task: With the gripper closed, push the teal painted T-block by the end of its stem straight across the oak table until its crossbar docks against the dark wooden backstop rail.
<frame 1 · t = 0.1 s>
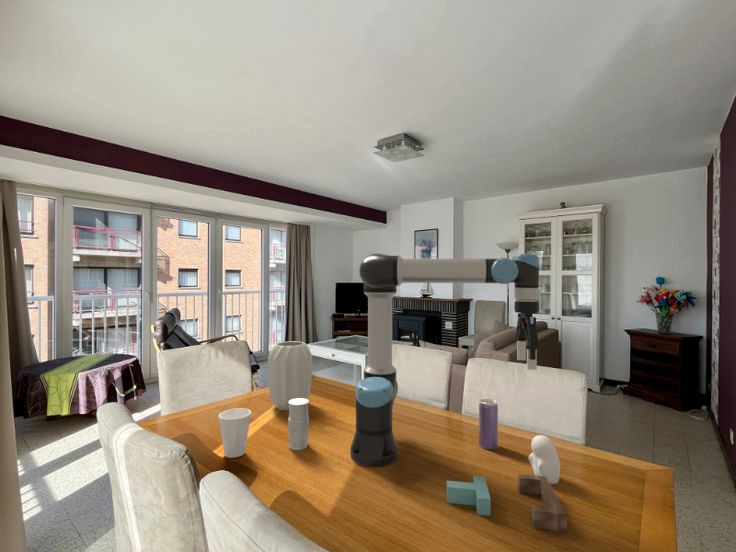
hand: (526, 364, 124), 28 cm above the table, fingers open, 13 cm apart
t block: (467, 501, 95), on the table
vase: (290, 406, 164), on the table
beverage can: (488, 446, 126), on the table
figurine: (545, 478, 106), on the table
cup: (235, 454, 120), on the table
backstop: (550, 509, 92), on the table
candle: (298, 446, 126), on the table
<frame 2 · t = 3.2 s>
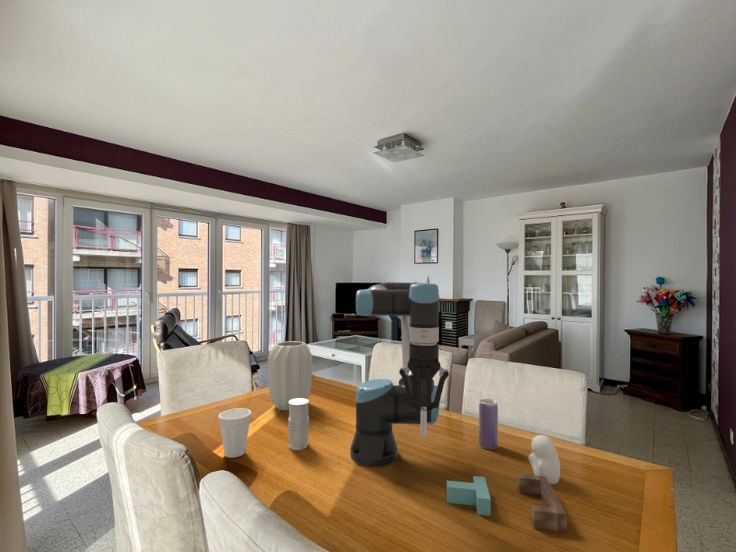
hand: (423, 433, 97), 16 cm above the table, fingers closed
nothing on the table moved.
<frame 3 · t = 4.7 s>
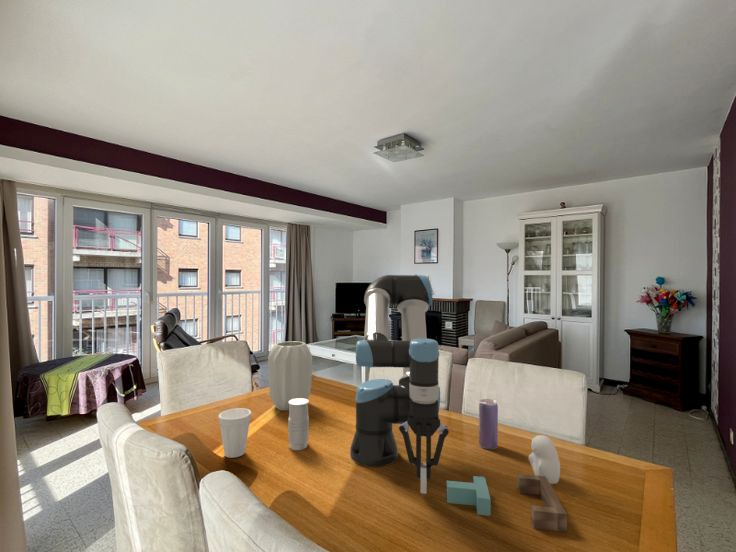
hand: (423, 490, 97), 2 cm above the table, fingers closed
nothing on the table moved.
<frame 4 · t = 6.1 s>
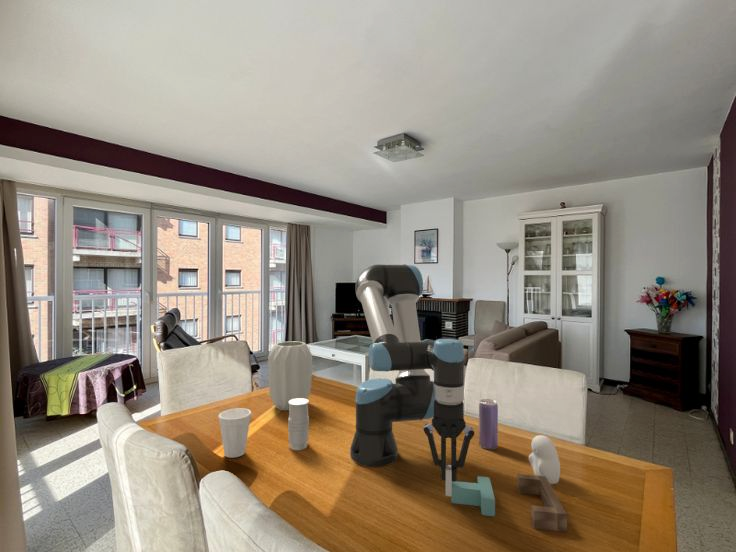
hand: (448, 493, 95), 2 cm above the table, fingers closed
t block: (471, 501, 95), on the table, touching gripper
everything else where it was.
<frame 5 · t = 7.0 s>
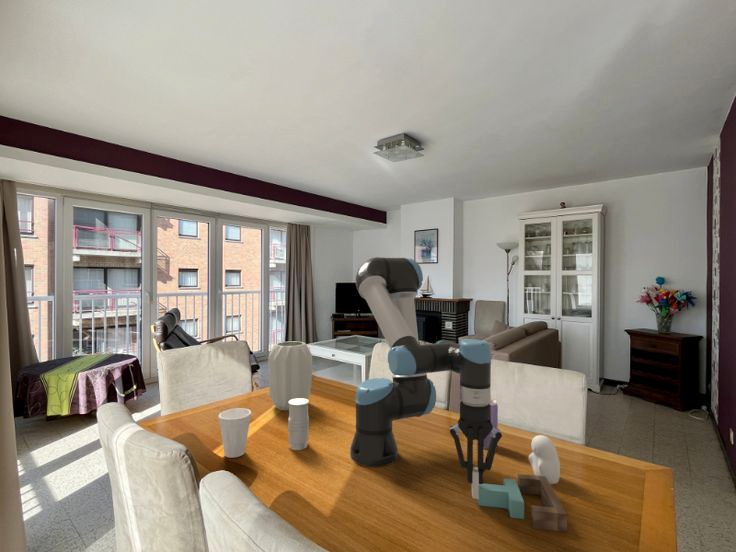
hand: (475, 495, 94), 2 cm above the table, fingers closed
t block: (498, 504, 94), on the table, touching gripper
everything else where it was.
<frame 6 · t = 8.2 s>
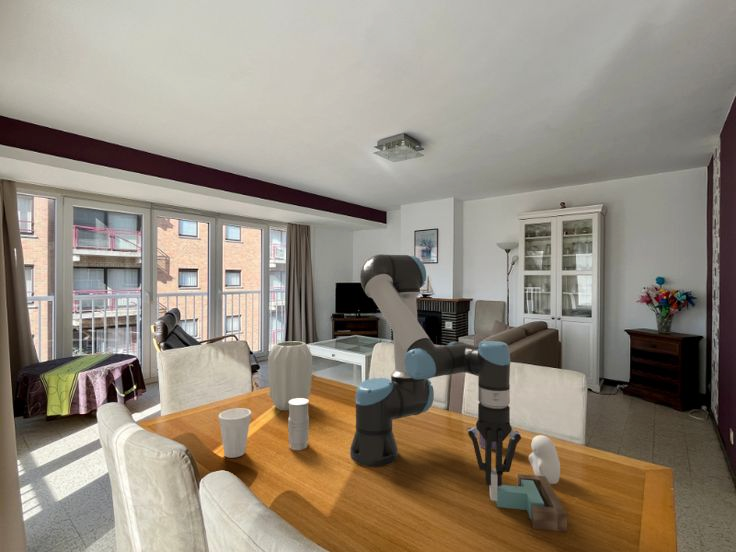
hand: (493, 497, 94), 2 cm above the table, fingers closed
t block: (516, 505, 93), on the table, touching gripper
everything else where it was.
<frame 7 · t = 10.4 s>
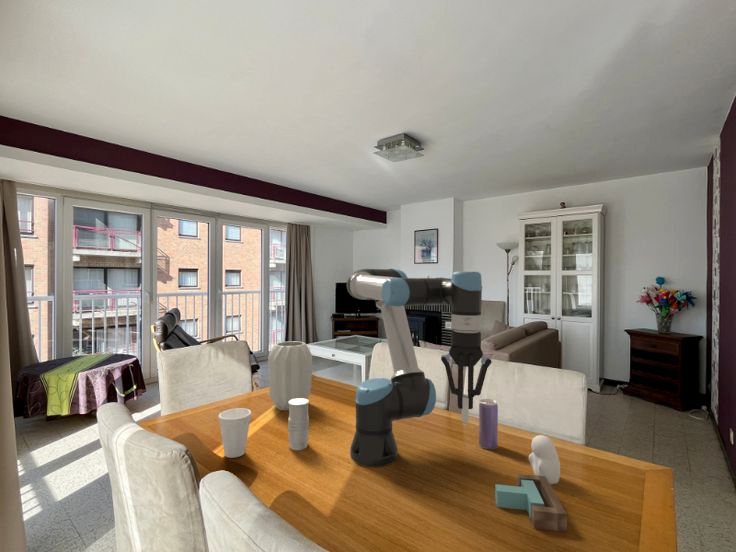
hand: (464, 420, 97), 20 cm above the table, fingers closed
t block: (517, 505, 93), on the table
everything else where it was.
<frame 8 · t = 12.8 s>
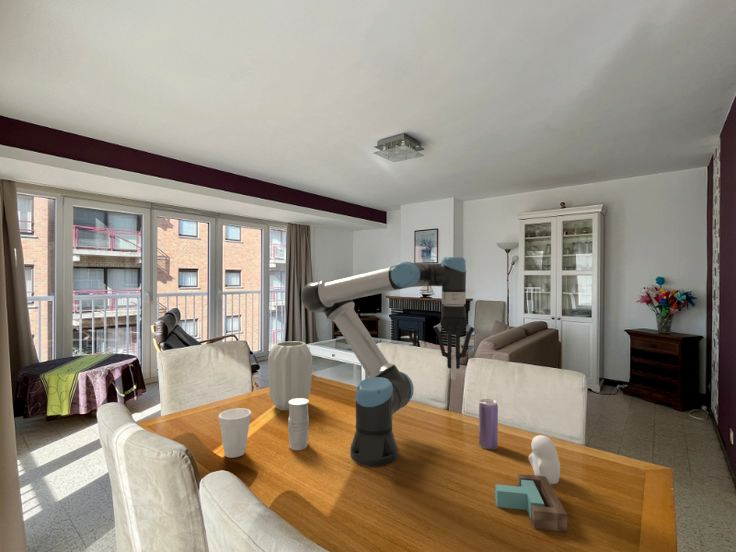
hand: (453, 378, 120), 24 cm above the table, fingers closed
nothing on the table moved.
at the end: t block inside the target area (1.3 cm from its centre), on the table; t block tilted 0° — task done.
